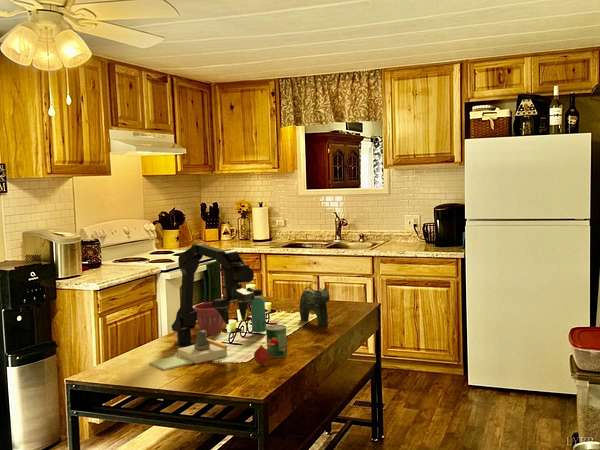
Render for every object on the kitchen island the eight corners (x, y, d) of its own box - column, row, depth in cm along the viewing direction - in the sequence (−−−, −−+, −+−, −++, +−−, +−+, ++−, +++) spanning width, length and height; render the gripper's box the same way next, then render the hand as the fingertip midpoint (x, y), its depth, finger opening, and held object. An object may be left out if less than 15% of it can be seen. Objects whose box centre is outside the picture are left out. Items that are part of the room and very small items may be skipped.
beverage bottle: (264, 336, 287) (262, 291, 286) (250, 335, 289) (248, 291, 287) (268, 332, 294) (266, 288, 292) (254, 332, 295) (252, 288, 293)
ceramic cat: (332, 325, 302) (330, 282, 300) (320, 328, 298) (319, 284, 297) (307, 318, 318) (305, 277, 317) (296, 320, 315) (294, 279, 313)
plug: (192, 356, 260) (190, 331, 259) (205, 353, 264) (204, 328, 263) (199, 359, 255) (198, 334, 254) (213, 356, 259) (211, 331, 258)
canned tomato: (290, 352, 260) (289, 325, 259) (283, 358, 253) (282, 330, 252) (271, 351, 263) (270, 324, 262) (264, 356, 255) (262, 329, 254)
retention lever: (197, 339, 266) (197, 336, 266) (201, 338, 267) (201, 336, 267) (223, 349, 250) (223, 346, 250) (228, 348, 251) (227, 345, 251)
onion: (254, 364, 246) (253, 343, 245) (269, 363, 246) (268, 342, 246) (254, 368, 240) (253, 347, 240) (270, 367, 241) (269, 346, 240)
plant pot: (206, 338, 287) (204, 309, 286) (189, 333, 297) (187, 305, 296) (233, 332, 296) (231, 304, 295) (215, 327, 307) (214, 300, 305)
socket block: (178, 356, 261) (177, 344, 260) (208, 349, 269) (208, 338, 269) (195, 363, 250) (195, 351, 249) (227, 355, 258) (226, 344, 258)
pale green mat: (149, 363, 252) (149, 362, 252) (177, 357, 259) (177, 355, 259) (163, 370, 242) (163, 368, 242) (192, 363, 250) (192, 361, 250)
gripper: (229, 286, 243) (234, 327, 243) (262, 278, 258) (266, 317, 258) (208, 286, 250) (213, 326, 250) (242, 278, 265) (245, 317, 265)
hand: (235, 322), depth 256 cm, fingers open, 9 cm apart
